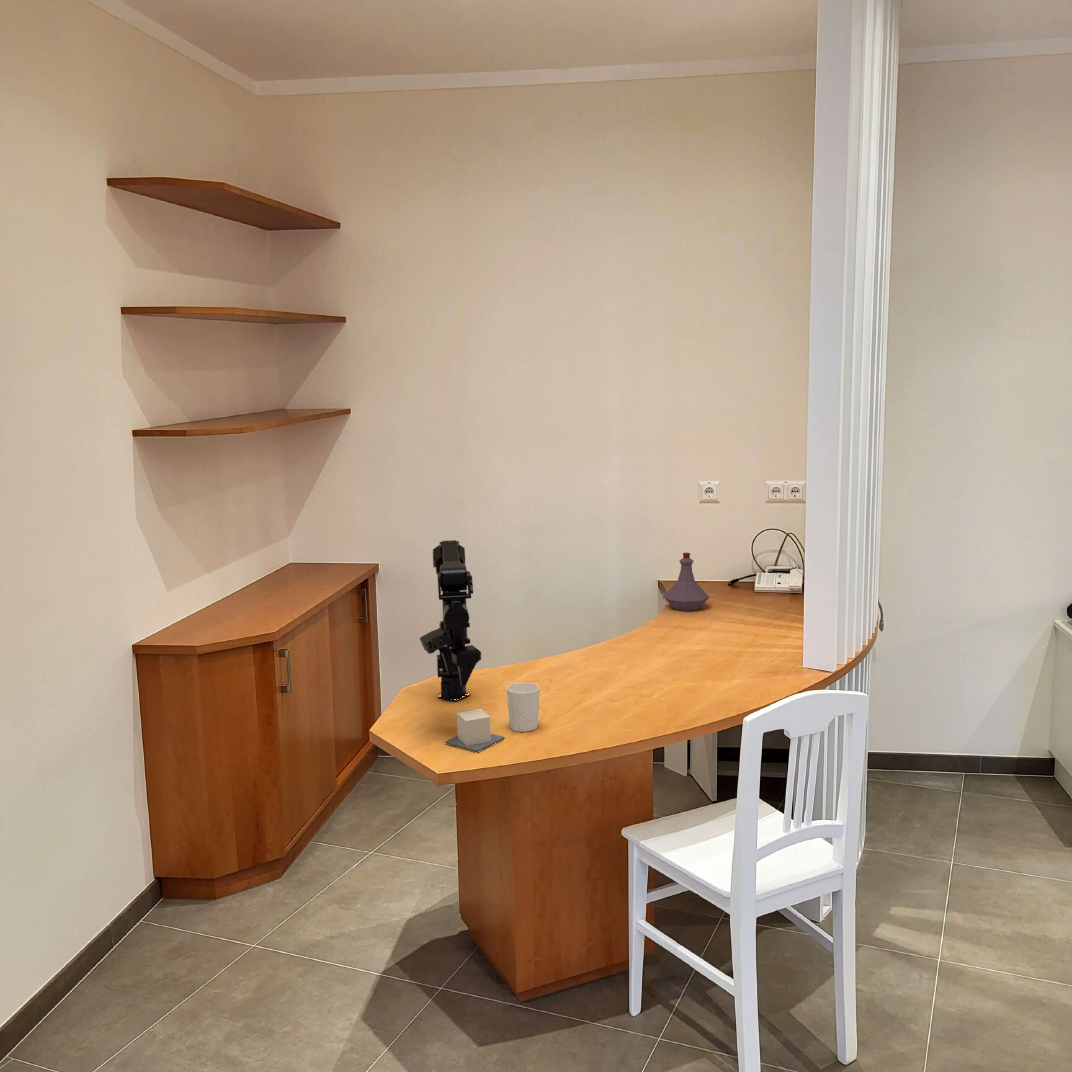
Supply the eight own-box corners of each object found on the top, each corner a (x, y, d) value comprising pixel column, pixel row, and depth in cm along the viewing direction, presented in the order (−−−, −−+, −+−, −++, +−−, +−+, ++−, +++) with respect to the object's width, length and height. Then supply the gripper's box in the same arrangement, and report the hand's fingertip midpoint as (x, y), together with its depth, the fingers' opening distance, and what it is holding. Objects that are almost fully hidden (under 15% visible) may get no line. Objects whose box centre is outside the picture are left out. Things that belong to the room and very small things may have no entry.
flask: (709, 614, 345) (709, 558, 341) (661, 613, 348) (661, 557, 344) (709, 603, 361) (710, 549, 357) (664, 602, 364) (664, 548, 360)
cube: (457, 737, 233) (456, 712, 232) (481, 733, 236) (480, 708, 235) (466, 745, 228) (465, 720, 227) (490, 741, 230) (490, 716, 229)
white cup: (539, 720, 245) (538, 682, 243) (540, 732, 237) (540, 692, 235) (507, 721, 244) (506, 683, 243) (507, 733, 237) (506, 693, 235)
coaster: (471, 731, 239) (471, 728, 238) (504, 739, 233) (504, 737, 233) (444, 744, 231) (444, 741, 231) (477, 753, 225) (477, 750, 225)
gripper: (410, 612, 243) (413, 673, 246) (435, 632, 226) (438, 697, 230) (453, 607, 248) (455, 666, 251) (481, 626, 231) (482, 689, 234)
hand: (456, 679), depth 241 cm, fingers open, 9 cm apart
